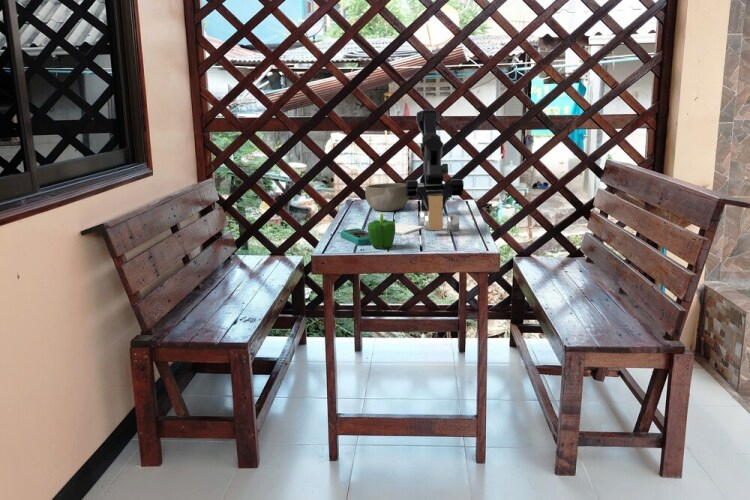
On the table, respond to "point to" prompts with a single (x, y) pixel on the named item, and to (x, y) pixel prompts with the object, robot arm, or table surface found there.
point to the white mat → (406, 228)
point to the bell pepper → (381, 233)
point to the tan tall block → (435, 212)
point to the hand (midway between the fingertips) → (435, 209)
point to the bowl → (386, 196)
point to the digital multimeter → (356, 236)
